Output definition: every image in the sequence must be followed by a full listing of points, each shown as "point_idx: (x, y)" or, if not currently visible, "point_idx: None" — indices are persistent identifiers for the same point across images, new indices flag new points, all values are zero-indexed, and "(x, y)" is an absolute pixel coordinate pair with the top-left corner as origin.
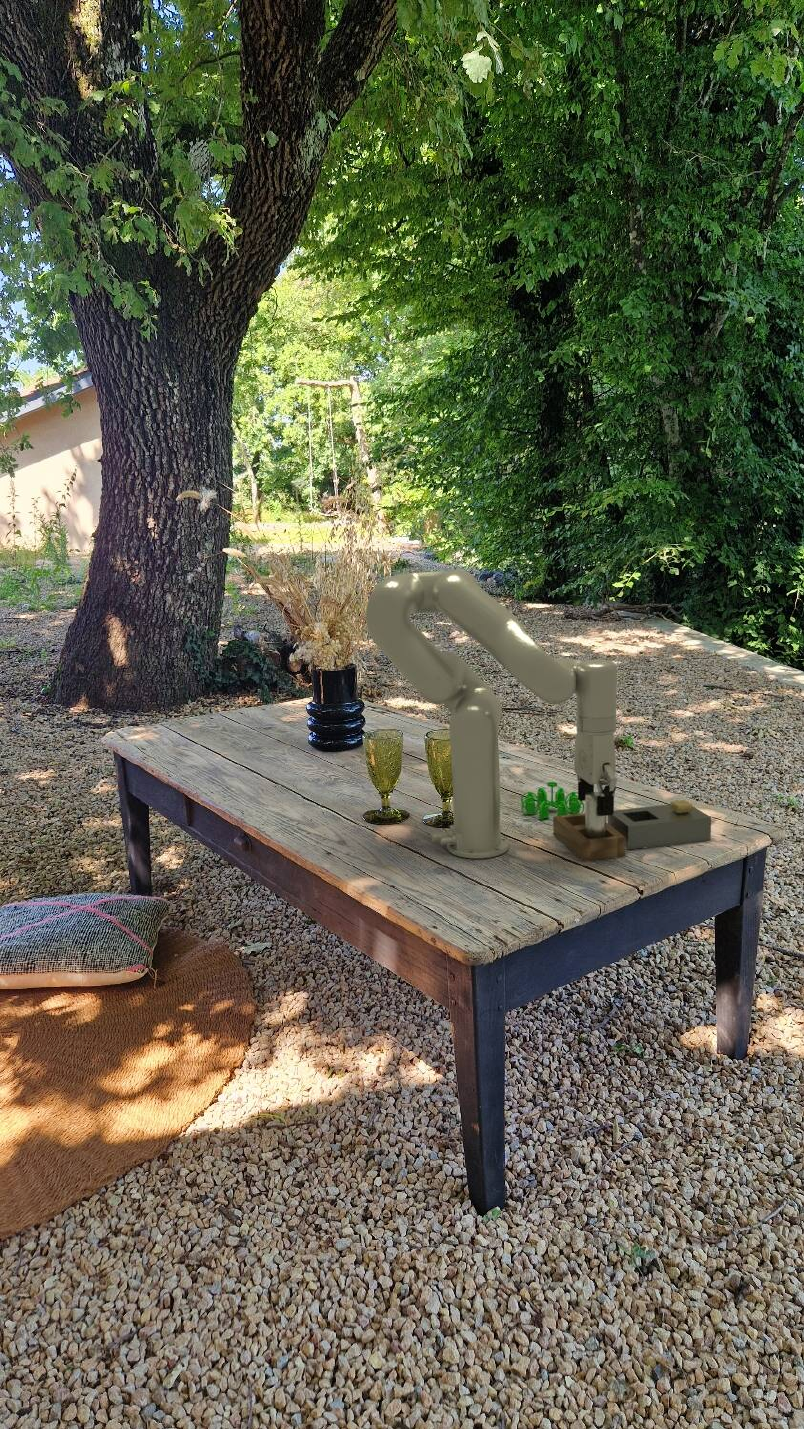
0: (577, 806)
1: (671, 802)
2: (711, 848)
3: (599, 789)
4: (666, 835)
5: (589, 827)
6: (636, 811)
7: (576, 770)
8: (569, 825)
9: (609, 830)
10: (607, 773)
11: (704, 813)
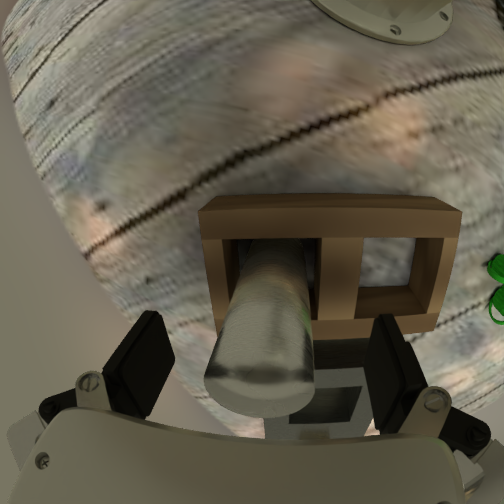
0: (500, 308)
1: None
2: (239, 420)
3: (87, 400)
4: None
5: (250, 269)
6: (356, 408)
7: (387, 470)
8: (373, 228)
9: None
10: (21, 465)
11: None
